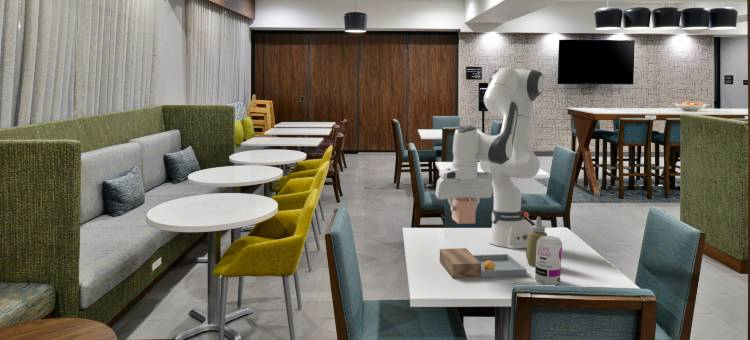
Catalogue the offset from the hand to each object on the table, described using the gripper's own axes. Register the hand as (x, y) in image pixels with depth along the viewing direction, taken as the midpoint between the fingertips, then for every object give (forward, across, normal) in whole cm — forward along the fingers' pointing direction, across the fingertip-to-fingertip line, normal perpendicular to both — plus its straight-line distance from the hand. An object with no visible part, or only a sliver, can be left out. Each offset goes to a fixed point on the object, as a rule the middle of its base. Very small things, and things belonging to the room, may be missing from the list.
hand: (463, 210), depth 205 cm
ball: (+18, -8, +8) cm, 21 cm away
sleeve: (+4, 0, 0) cm, 4 cm away
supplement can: (+21, -24, +19) cm, 37 cm away
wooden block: (+21, +2, +2) cm, 21 cm away
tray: (+21, -11, +4) cm, 24 cm away
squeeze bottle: (+21, -28, +1) cm, 35 cm away
